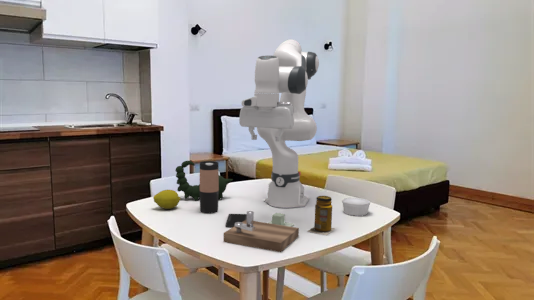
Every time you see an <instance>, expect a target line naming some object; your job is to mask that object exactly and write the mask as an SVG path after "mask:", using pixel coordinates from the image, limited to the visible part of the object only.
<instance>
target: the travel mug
mask: <svg viewBox="0 0 534 300" xmlns="http://www.w3.org/2000/svg"><path fill="white" fill-rule="evenodd" d="M219 166H220V165H219V162H218V161H214V160H212V161H211V160H209V161H208V160H207V161H206V160H205V161H201V162H199V184H200V198H199V210H200V213H202V214H207V215H208V214H210V215H211V214H216V213H218V211H219V199H218V194H219V175H220V174H219V173H220V172H219Z"/></svg>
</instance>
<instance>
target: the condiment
mask: <svg viewBox="0 0 534 300" xmlns="http://www.w3.org/2000/svg"><path fill="white" fill-rule="evenodd" d="M315 199H316V201H315V204H314V205H315V206H314V222H313V223H314V225H313V227H312V228H310V229H308V230H307V232H309V233H312V234H313V233H314V234H318V235H322V236H323V235H324V236H328V235H329V234H330V233H332V232H333V231H334V230H335V229H336V228H335V227H332V222H333V221H332V219H333V205H332V202H333V201H332V197H331V196H328V195H318V196H317V197H316V198H315Z"/></svg>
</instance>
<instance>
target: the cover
mask: <svg viewBox="0 0 534 300" xmlns="http://www.w3.org/2000/svg"><path fill="white" fill-rule="evenodd" d="M285 216H286V214H285V213H281V212H275V213H273V214H271V220H270V221H268V222H267V223H270V224H277V225H283V226H290V227H295V223H293V222H286V220H285V218H286V217H285Z"/></svg>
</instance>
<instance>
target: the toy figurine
mask: <svg viewBox="0 0 534 300" xmlns="http://www.w3.org/2000/svg"><path fill="white" fill-rule="evenodd" d="M190 165H191V166H193V167H194V166H195V163H194V162H193V161H191V160H185V161H183V162H182V163H181V165H179V166H177V167H176V168H175V169H174V170H175V172H176V173H175V177H176V178H177V180H176V184H177V185H178V187H177V188H176V189H177V192H178V193H180V192H183V194H184V199H185V200H186V199H189V197H190V198H192V199H193V200H194V201H198V200H199V199H200V183H198V184H194V185H191V184H190V183H189V182H188V179H187V177H186V172H185V170H184V169H185V168H186V167H188V166H190ZM232 181H234V179H233V178H224V177H223V176H222V175H220V174H219V194H218V200H222V198H223V196H224V195H223V193H224V192H225V191H226V190H227V186H228V184H229V183H231V182H232Z"/></svg>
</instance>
